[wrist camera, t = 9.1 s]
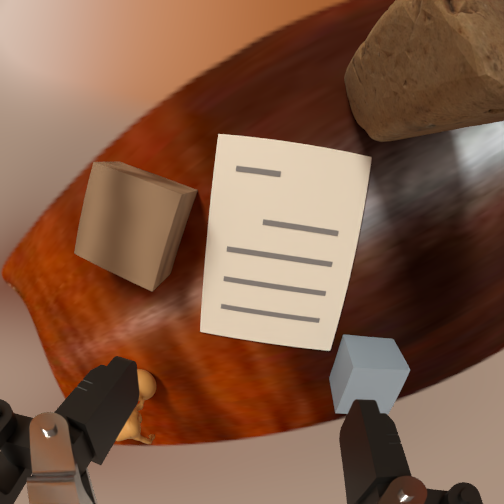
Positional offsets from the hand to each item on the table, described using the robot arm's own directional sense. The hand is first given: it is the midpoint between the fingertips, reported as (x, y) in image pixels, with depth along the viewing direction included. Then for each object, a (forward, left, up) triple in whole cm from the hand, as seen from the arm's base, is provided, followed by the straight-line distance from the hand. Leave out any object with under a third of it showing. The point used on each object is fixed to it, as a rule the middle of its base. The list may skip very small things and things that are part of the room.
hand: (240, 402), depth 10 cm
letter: (-1, 0, -20) cm, 20 cm away
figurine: (+12, +18, -20) cm, 29 cm away
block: (-10, -16, -20) cm, 28 cm away
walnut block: (+13, -2, -20) cm, 24 cm away
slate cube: (-12, +11, -20) cm, 25 cm away
